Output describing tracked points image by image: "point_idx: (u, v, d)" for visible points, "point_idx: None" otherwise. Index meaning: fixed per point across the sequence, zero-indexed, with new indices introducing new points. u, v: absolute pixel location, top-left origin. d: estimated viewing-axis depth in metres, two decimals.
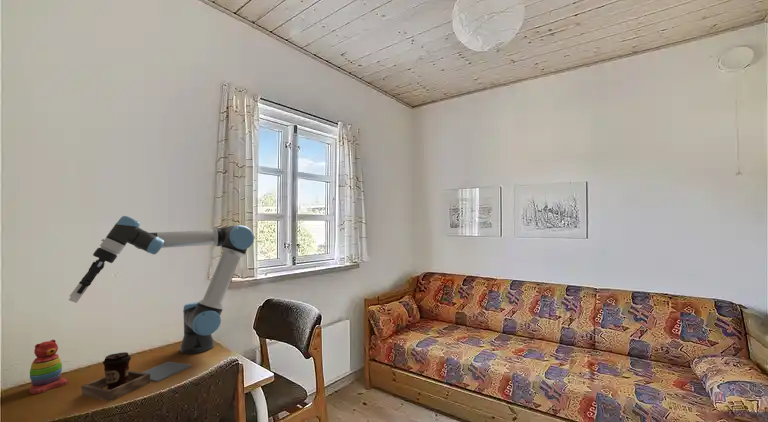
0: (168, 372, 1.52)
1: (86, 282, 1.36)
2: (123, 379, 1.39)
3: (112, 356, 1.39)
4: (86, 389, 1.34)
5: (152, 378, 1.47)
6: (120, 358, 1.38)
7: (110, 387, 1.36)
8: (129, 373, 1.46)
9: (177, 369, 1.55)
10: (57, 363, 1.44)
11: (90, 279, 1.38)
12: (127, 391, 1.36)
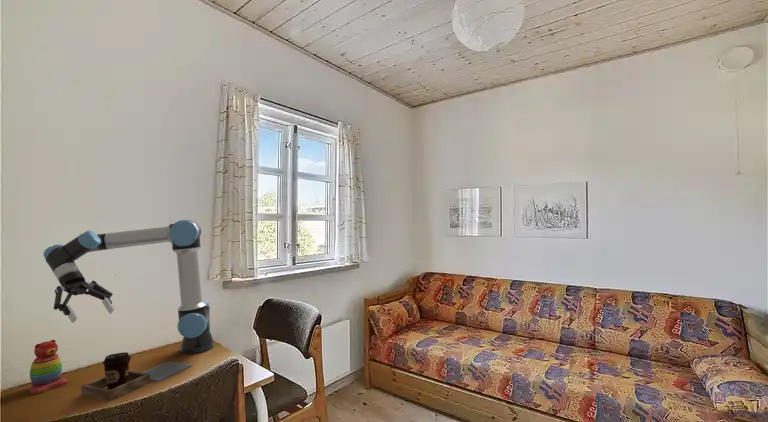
0: (168, 372, 1.52)
1: (55, 306, 1.37)
2: (123, 379, 1.39)
3: (112, 356, 1.39)
4: (86, 389, 1.34)
5: (152, 378, 1.47)
6: (120, 358, 1.38)
7: (110, 387, 1.36)
8: (129, 373, 1.46)
9: (177, 369, 1.55)
10: (57, 363, 1.44)
11: (55, 302, 1.38)
12: (127, 391, 1.36)
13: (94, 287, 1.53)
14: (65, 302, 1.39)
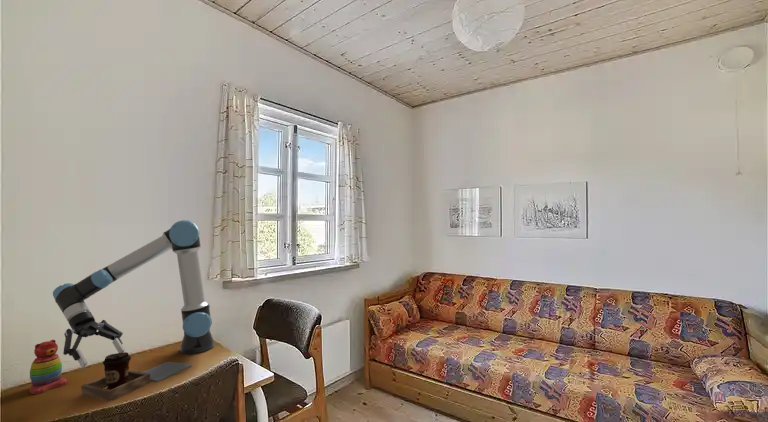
0: (168, 372, 1.52)
1: (64, 352, 1.33)
2: (123, 379, 1.39)
3: (112, 356, 1.39)
4: (86, 389, 1.34)
5: (152, 378, 1.47)
6: (120, 358, 1.38)
7: (110, 387, 1.36)
8: (129, 373, 1.46)
9: (177, 369, 1.55)
10: (57, 363, 1.44)
11: (65, 347, 1.34)
12: (127, 391, 1.36)
13: (104, 327, 1.50)
14: (75, 346, 1.36)
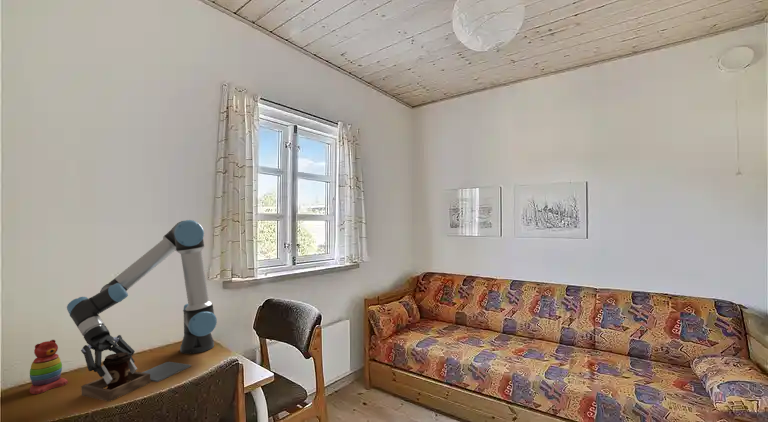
0: (168, 372, 1.52)
1: (89, 368, 1.33)
2: (123, 379, 1.39)
3: (112, 356, 1.39)
4: (86, 389, 1.34)
5: (152, 378, 1.47)
6: (120, 358, 1.38)
7: (110, 387, 1.36)
8: (129, 373, 1.46)
9: (177, 369, 1.55)
10: (57, 363, 1.44)
11: (89, 364, 1.33)
12: (127, 391, 1.36)
13: (118, 342, 1.47)
14: (99, 362, 1.35)
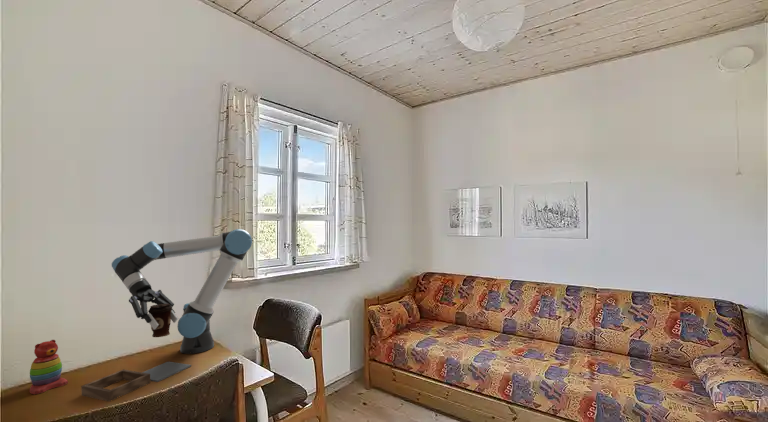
0: (168, 372, 1.52)
1: (138, 315, 1.48)
2: (166, 326, 1.54)
3: (156, 306, 1.54)
4: (86, 389, 1.34)
5: (152, 378, 1.47)
6: (164, 307, 1.52)
7: (156, 333, 1.51)
8: (129, 373, 1.46)
9: (177, 369, 1.55)
10: (57, 363, 1.44)
11: (137, 311, 1.48)
12: (127, 391, 1.36)
13: (159, 296, 1.62)
14: (145, 311, 1.50)
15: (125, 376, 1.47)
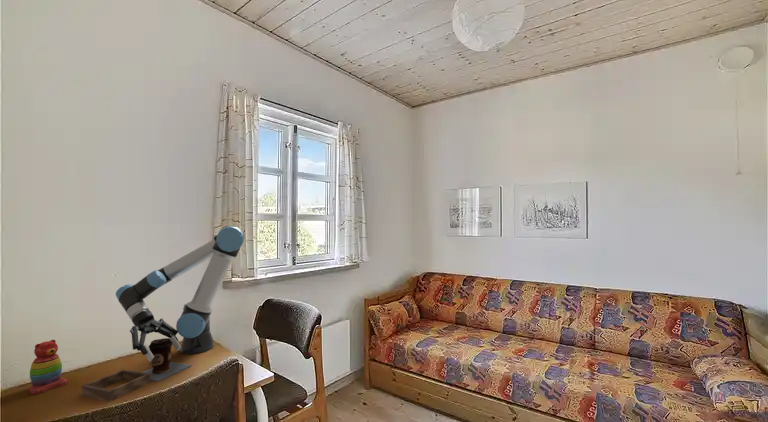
0: (168, 372, 1.52)
1: (134, 347, 1.46)
2: (166, 362, 1.53)
3: (156, 341, 1.53)
4: (86, 389, 1.34)
5: (152, 378, 1.47)
6: (164, 343, 1.52)
7: (155, 369, 1.51)
8: (129, 373, 1.46)
9: (177, 369, 1.55)
10: (57, 363, 1.44)
11: (134, 343, 1.47)
12: (127, 391, 1.36)
13: (162, 325, 1.62)
14: (142, 342, 1.49)
15: (125, 376, 1.47)
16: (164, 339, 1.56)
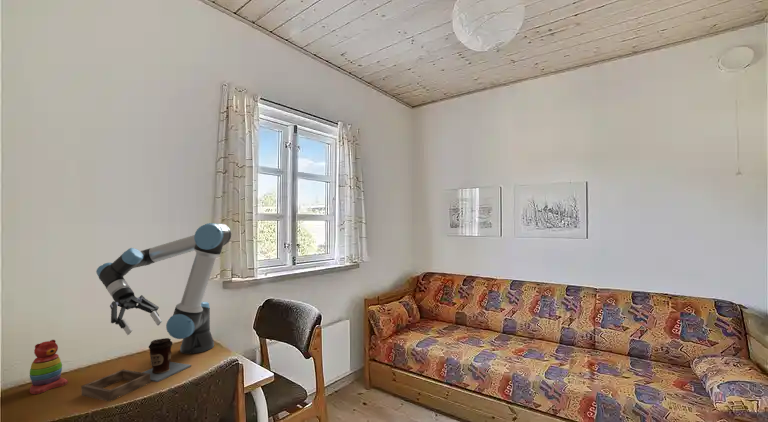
0: (168, 372, 1.52)
1: (112, 320, 1.51)
2: (166, 362, 1.53)
3: (156, 341, 1.53)
4: (86, 389, 1.34)
5: (152, 378, 1.47)
6: (164, 343, 1.52)
7: (155, 369, 1.51)
8: (129, 373, 1.46)
9: (177, 369, 1.55)
10: (57, 363, 1.44)
11: (112, 317, 1.51)
12: (127, 391, 1.36)
13: (142, 301, 1.67)
14: (120, 316, 1.53)
15: (125, 376, 1.47)
16: (164, 339, 1.56)
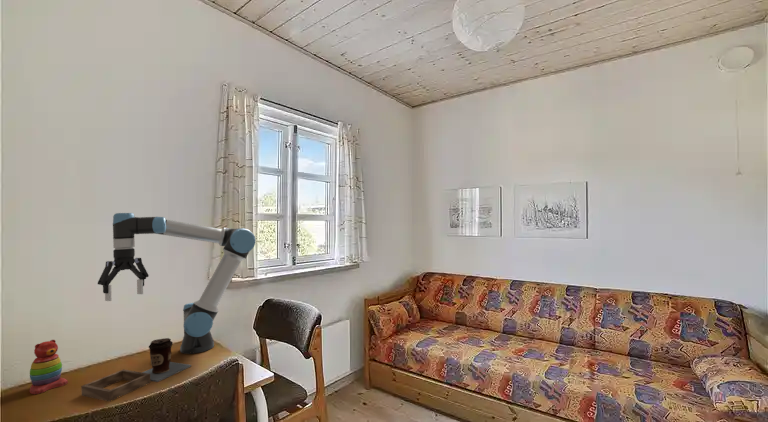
0: (168, 372, 1.52)
1: (99, 283, 1.48)
2: (166, 362, 1.53)
3: (156, 341, 1.53)
4: (86, 389, 1.34)
5: (152, 378, 1.47)
6: (164, 343, 1.52)
7: (155, 369, 1.51)
8: (129, 373, 1.46)
9: (177, 369, 1.55)
10: (57, 363, 1.44)
11: (101, 279, 1.48)
12: (127, 391, 1.36)
13: (137, 264, 1.63)
14: (109, 281, 1.50)
15: (125, 376, 1.47)
16: (164, 339, 1.56)
